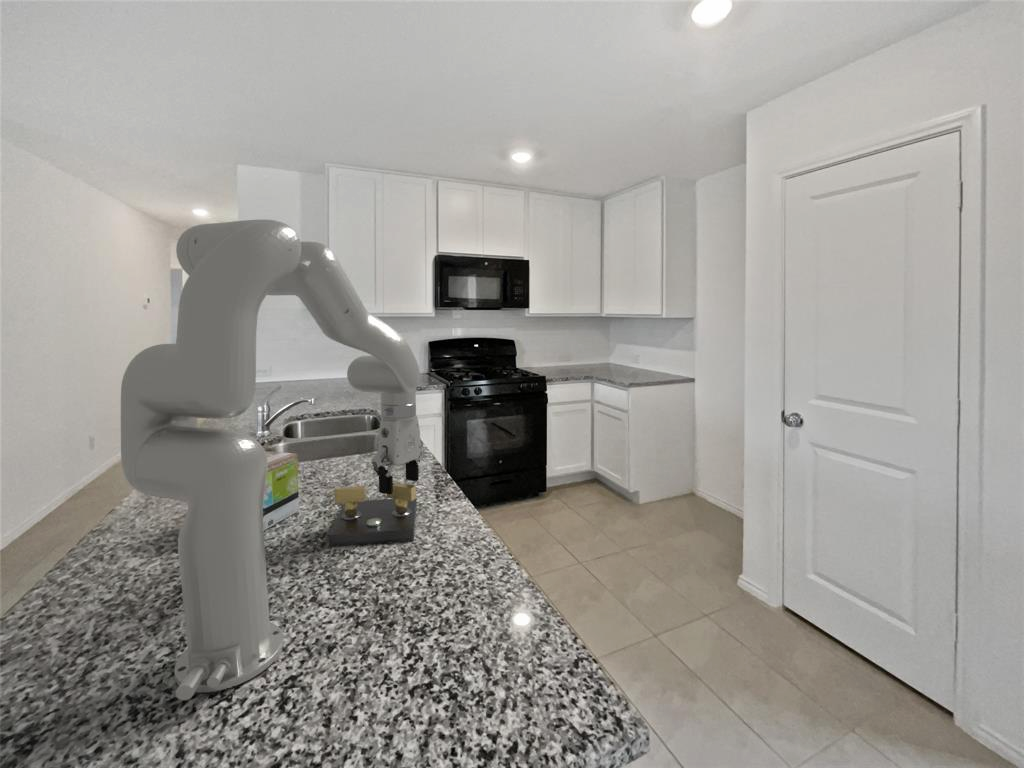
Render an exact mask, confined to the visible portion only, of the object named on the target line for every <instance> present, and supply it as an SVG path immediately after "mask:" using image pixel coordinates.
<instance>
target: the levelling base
mask: <svg viewBox="0 0 1024 768" xmlns="http://www.w3.org/2000/svg"><path fill="white" fill-rule="evenodd" d="M417 499H418V498H417V496H416V499H414V500H413V501H407V512H404V513H397V512H396V502H395V499H392V498H384V499H366V500H365V502H357V514H356V515H354V516H346V515H345V503H342V506H341V508H340V510H339V512H338V514H337V516H336V519H335V521H334V522H333V525H332V527H331V529H330V531H329V533H328V534H327V535H328V536H327V537H328V539H327V540H328V541H327V542H328V547H341V546H357V545H370V544H384V543H385V544H386V543H397V542H398V543H400V542H412V541H415V531H416V530H415V529H416V519H417V518H416V517H417V509H418V506H417V502H418V501H417Z"/></svg>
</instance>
